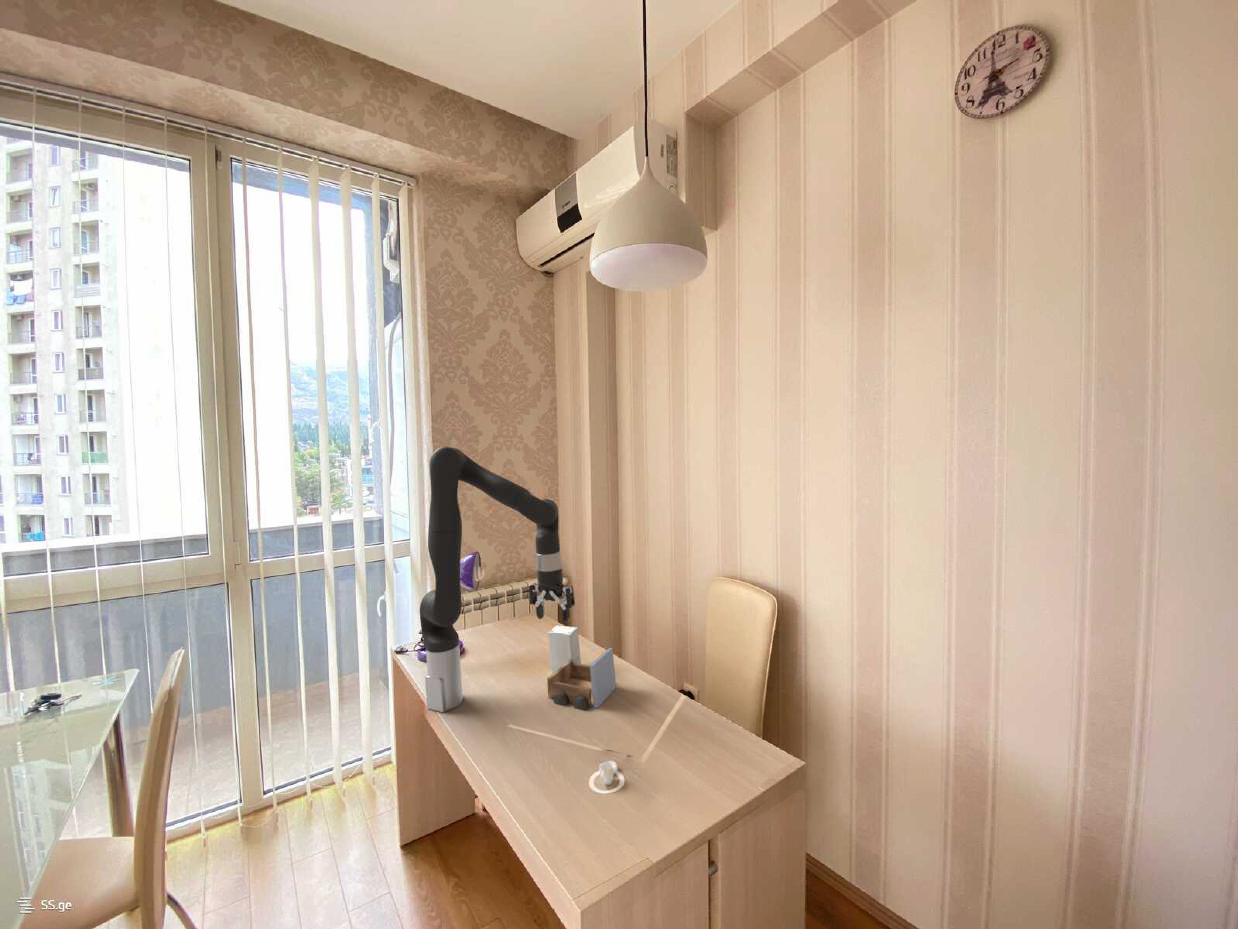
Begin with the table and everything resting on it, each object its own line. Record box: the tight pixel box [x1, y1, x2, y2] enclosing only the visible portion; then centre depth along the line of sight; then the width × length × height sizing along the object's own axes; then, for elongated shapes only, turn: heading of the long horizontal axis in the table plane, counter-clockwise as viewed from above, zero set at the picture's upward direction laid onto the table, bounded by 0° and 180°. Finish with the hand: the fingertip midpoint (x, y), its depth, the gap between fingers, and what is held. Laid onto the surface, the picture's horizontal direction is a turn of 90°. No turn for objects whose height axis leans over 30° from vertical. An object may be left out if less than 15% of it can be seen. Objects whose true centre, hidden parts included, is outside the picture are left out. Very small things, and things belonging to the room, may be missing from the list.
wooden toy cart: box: [546, 659, 594, 711], centre depth 150 cm, size 16×14×7 cm
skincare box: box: [547, 625, 582, 675], centre depth 163 cm, size 8×6×15 cm
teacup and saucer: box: [588, 760, 625, 795], centre depth 113 cm, size 9×8×4 cm
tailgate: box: [589, 647, 617, 709], centre depth 146 cm, size 12×1×12 cm, turn 155°
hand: (553, 619), depth 152 cm, fingers open, 8 cm apart
